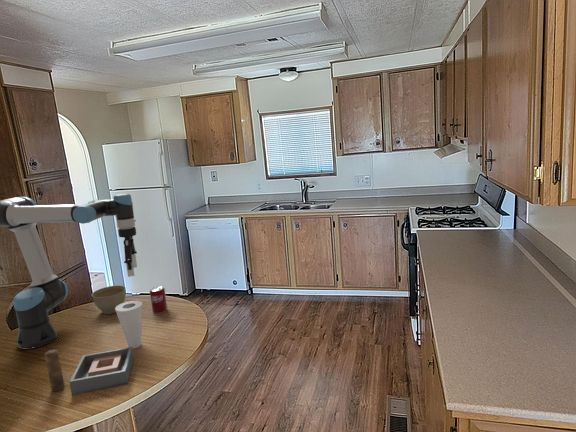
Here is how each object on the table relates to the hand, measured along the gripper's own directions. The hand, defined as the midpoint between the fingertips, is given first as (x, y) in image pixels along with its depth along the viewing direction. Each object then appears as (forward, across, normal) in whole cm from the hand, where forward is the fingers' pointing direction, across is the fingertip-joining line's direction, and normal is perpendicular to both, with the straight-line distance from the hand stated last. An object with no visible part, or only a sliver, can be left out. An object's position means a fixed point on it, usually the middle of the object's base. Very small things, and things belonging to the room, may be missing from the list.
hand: (132, 271), depth 184 cm
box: (+26, -43, +9) cm, 51 cm away
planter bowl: (+26, +22, +16) cm, 38 cm away
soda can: (+26, +10, -9) cm, 29 cm away
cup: (+26, -24, 0) cm, 35 cm away
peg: (+26, -46, +24) cm, 58 cm away
